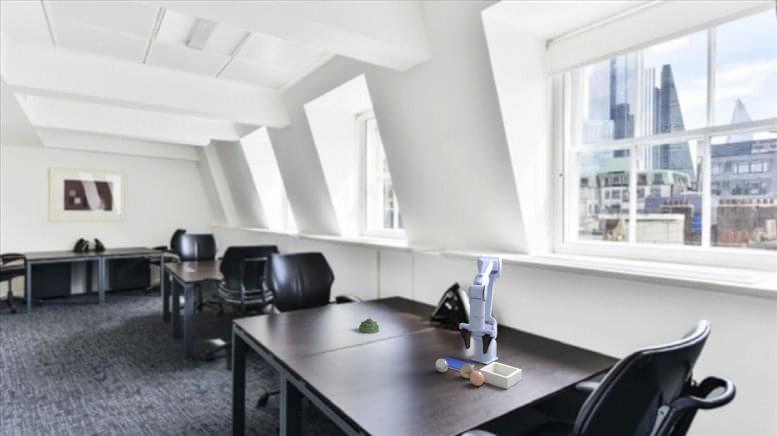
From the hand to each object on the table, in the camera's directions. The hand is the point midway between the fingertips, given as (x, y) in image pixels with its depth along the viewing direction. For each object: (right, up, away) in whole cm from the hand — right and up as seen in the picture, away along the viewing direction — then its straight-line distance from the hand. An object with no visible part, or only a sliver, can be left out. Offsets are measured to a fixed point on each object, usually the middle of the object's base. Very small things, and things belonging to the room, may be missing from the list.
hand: (476, 350), depth 160 cm
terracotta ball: (-2, -9, -11) cm, 14 cm away
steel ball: (-13, -8, 0) cm, 16 cm away
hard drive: (-7, -9, +7) cm, 13 cm away
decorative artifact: (-44, -7, +52) cm, 69 cm away
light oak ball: (-5, -8, -5) cm, 11 cm away
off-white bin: (+7, -9, -7) cm, 13 cm away
